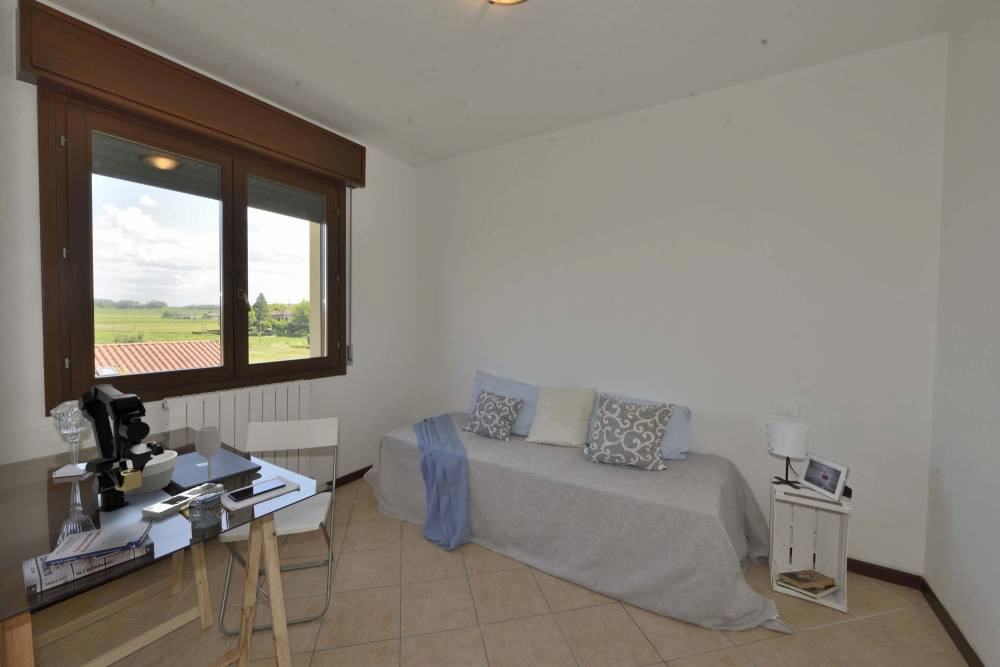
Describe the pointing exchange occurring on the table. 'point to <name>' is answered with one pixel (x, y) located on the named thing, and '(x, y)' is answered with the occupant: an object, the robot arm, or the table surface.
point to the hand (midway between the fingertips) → (128, 484)
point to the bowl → (155, 473)
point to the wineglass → (208, 443)
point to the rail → (168, 507)
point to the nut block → (130, 480)
